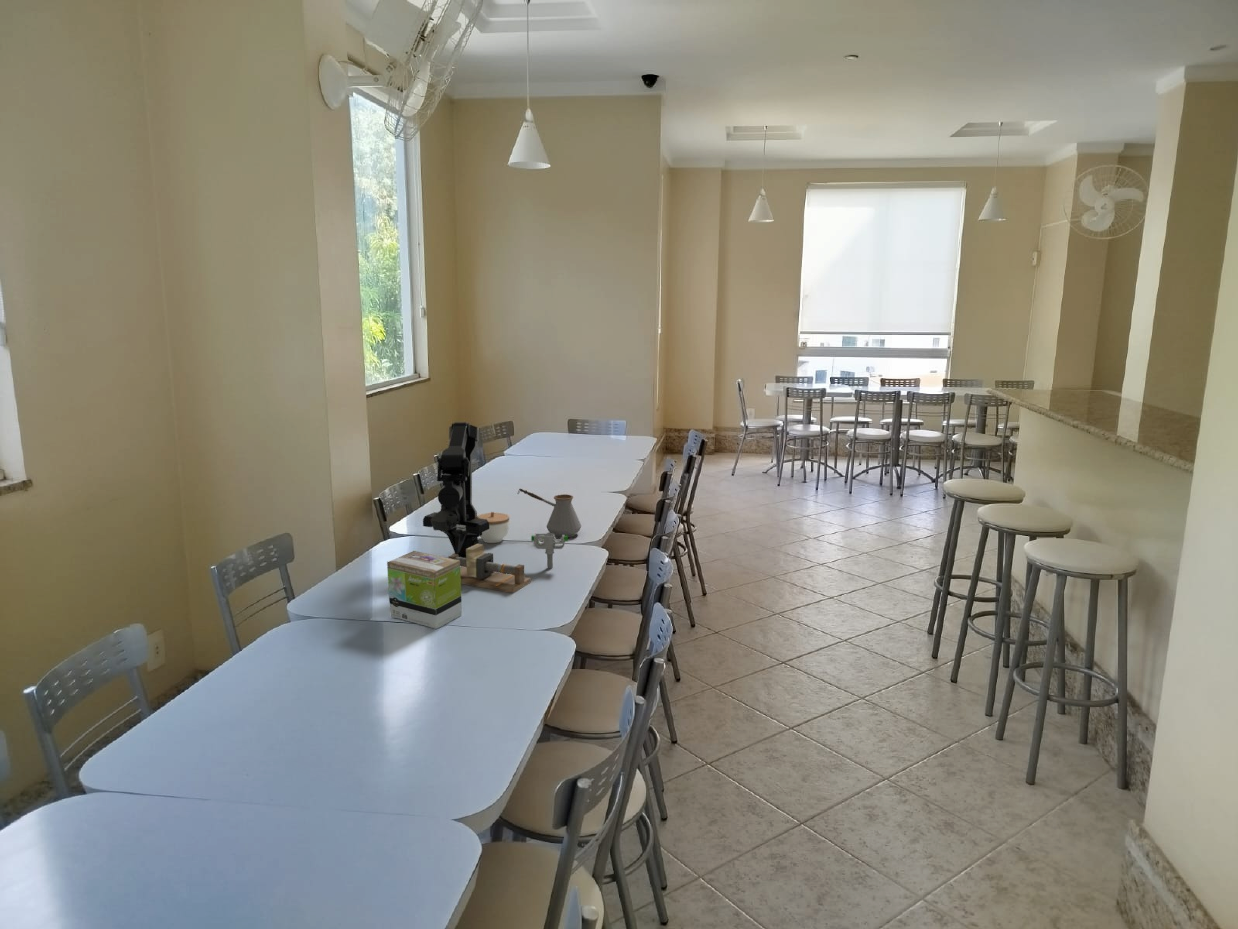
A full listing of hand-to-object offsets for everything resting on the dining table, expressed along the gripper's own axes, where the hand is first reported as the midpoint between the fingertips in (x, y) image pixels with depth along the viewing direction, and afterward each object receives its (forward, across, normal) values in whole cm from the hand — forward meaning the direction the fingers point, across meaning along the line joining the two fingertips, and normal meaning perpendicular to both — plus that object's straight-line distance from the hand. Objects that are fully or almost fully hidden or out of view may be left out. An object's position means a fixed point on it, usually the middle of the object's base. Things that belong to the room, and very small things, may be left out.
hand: (457, 552), depth 222 cm
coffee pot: (+7, +3, +47) cm, 48 cm away
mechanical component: (+7, +20, +17) cm, 27 cm away
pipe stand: (+7, +10, 0) cm, 12 cm away
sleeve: (+5, +6, 0) cm, 8 cm away
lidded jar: (+7, -10, +33) cm, 35 cm away
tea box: (+7, +10, -27) cm, 30 cm away
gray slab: (+5, +9, 0) cm, 11 cm away
